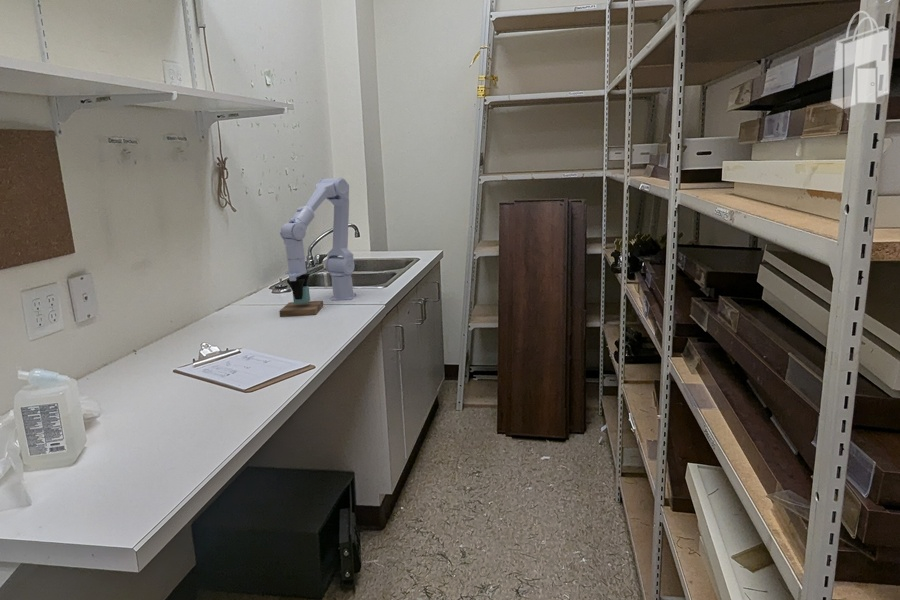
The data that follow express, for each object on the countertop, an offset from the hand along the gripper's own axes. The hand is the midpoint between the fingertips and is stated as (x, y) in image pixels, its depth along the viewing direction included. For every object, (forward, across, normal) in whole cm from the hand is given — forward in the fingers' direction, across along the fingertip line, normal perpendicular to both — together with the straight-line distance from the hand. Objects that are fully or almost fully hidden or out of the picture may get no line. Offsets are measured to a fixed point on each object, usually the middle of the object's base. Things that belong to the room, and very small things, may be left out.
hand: (300, 297), depth 197 cm
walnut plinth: (+5, 0, 0) cm, 5 cm away
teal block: (+2, 0, 0) cm, 2 cm away
